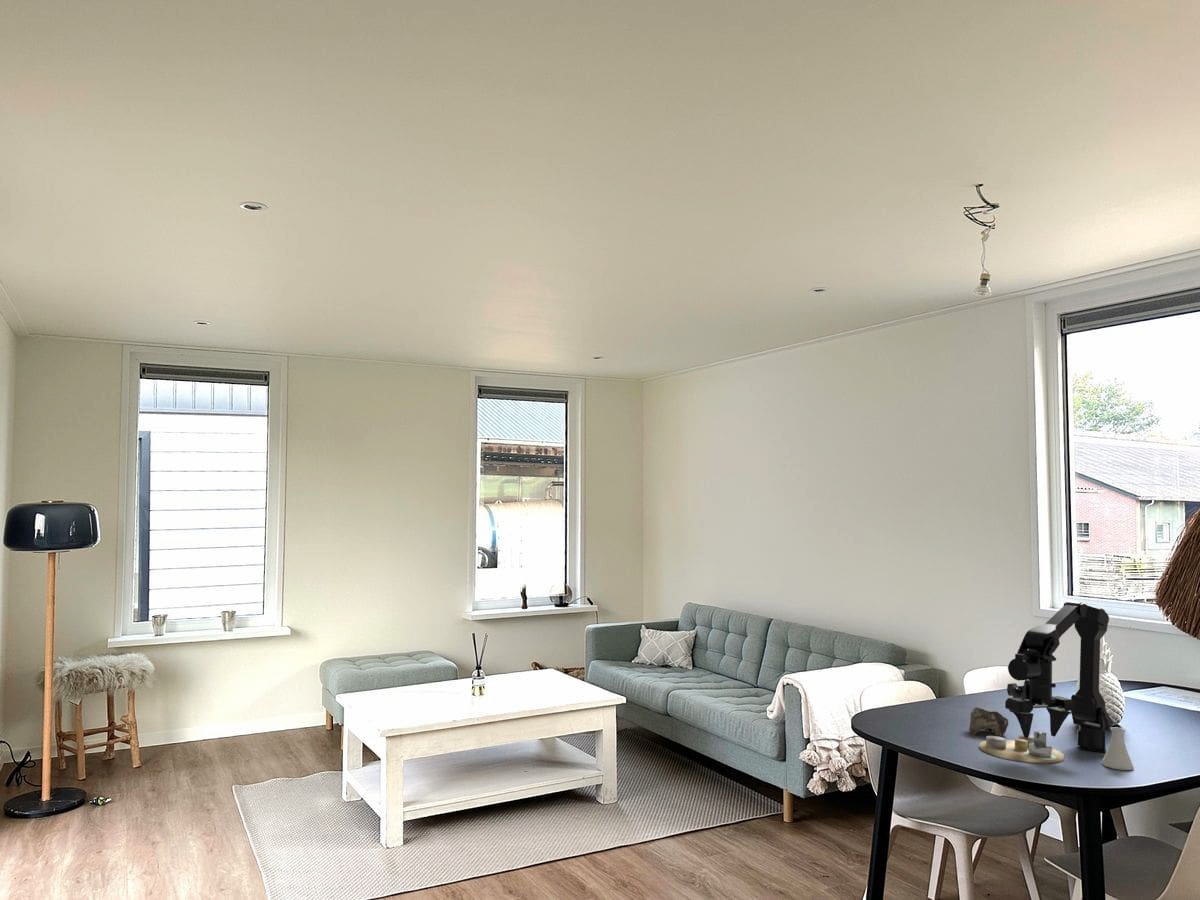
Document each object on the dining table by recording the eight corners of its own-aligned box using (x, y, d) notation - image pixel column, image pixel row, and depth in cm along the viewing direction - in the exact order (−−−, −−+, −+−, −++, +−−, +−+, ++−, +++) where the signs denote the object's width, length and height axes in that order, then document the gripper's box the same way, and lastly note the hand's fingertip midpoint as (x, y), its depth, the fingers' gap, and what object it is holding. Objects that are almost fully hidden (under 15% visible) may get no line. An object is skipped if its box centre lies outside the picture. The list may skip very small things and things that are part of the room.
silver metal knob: (1051, 754, 243) (1051, 731, 243) (1051, 759, 238) (1051, 736, 238) (1028, 751, 245) (1028, 728, 245) (1028, 756, 240) (1028, 733, 240)
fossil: (1005, 730, 271) (1009, 703, 267) (1008, 751, 264) (1012, 724, 260) (966, 724, 275) (969, 698, 271) (968, 745, 267) (971, 718, 263)
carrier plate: (1063, 749, 252) (1063, 737, 252) (1065, 767, 233) (1065, 755, 234) (981, 738, 261) (981, 727, 262) (977, 755, 243) (977, 742, 243)
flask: (1122, 763, 240) (1122, 725, 241) (1139, 771, 233) (1139, 732, 234) (1096, 762, 240) (1096, 724, 241) (1112, 770, 233) (1112, 731, 233)
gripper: (1043, 671, 253) (1043, 728, 252) (990, 673, 247) (989, 731, 246) (1076, 679, 243) (1076, 738, 242) (1021, 681, 237) (1020, 741, 236)
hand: (1039, 736), depth 242 cm, fingers open, 9 cm apart
